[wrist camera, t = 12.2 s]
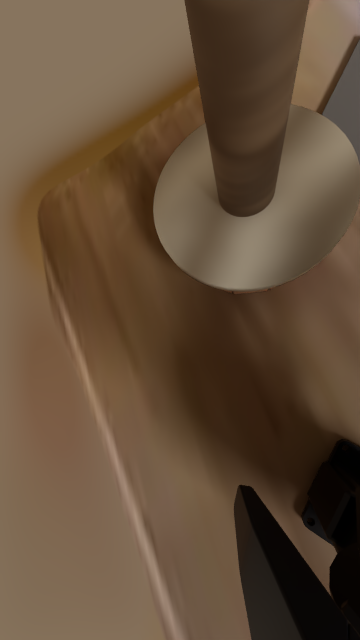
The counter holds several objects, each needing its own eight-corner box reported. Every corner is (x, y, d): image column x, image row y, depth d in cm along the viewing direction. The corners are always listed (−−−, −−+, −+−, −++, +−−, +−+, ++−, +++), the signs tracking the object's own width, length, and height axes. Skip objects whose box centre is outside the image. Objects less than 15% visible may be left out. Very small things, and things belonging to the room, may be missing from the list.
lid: (391, 136, 15) (816, -502, 4) (297, 324, 15) (456, 229, 4) (205, 104, 19) (147, -257, 8) (129, 251, 18) (-40, 99, 8)
